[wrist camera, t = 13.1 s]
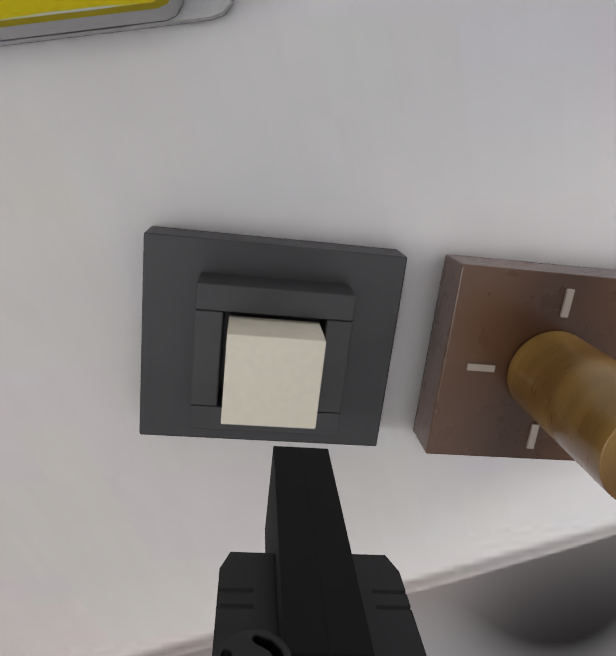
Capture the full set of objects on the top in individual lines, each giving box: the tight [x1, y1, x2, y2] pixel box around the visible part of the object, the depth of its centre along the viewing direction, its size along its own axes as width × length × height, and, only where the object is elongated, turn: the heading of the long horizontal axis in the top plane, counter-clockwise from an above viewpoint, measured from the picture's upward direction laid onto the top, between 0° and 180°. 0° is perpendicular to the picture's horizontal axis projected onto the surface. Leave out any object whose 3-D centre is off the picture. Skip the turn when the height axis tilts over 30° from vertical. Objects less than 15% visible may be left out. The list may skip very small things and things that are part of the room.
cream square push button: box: [221, 316, 326, 429], centre depth 24 cm, size 4×4×3 cm
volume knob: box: [507, 331, 616, 499], centre depth 24 cm, size 4×4×8 cm
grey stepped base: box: [140, 226, 407, 446], centre depth 27 cm, size 12×10×4 cm
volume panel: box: [413, 254, 616, 461], centre depth 30 cm, size 11×10×3 cm
